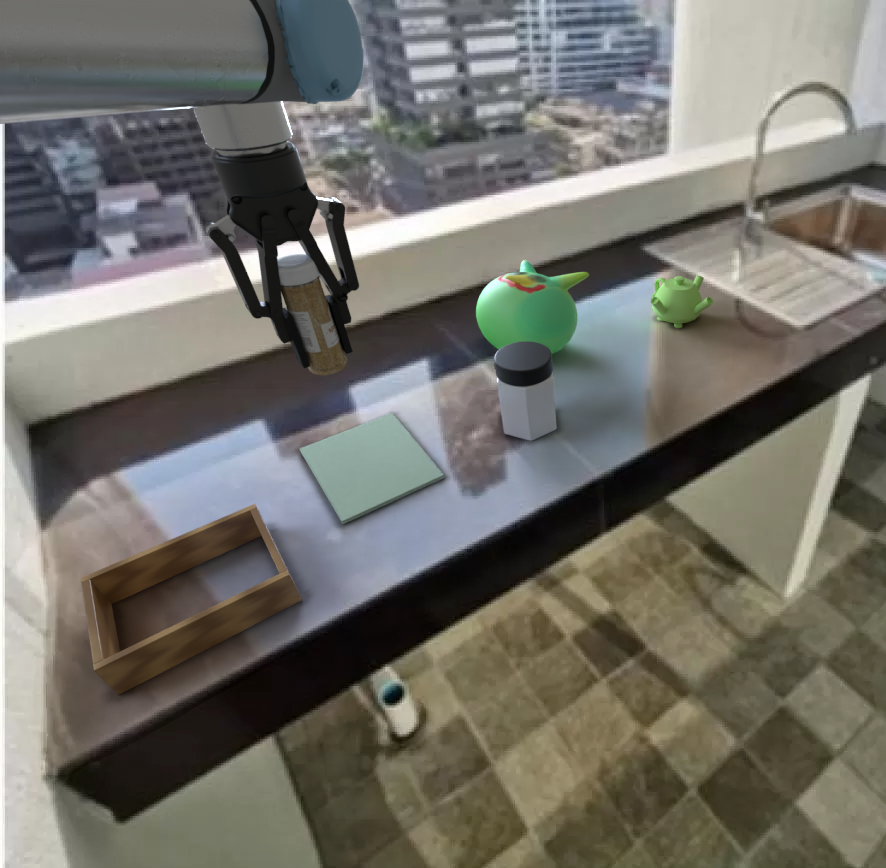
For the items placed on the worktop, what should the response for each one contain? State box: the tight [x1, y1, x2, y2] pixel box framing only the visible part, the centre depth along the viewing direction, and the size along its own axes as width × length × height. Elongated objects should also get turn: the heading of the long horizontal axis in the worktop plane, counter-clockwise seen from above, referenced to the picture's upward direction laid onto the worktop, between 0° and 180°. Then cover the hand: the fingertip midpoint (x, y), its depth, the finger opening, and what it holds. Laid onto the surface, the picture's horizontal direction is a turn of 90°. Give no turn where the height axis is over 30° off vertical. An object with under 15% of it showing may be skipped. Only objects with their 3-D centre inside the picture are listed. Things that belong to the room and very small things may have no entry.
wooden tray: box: [80, 503, 303, 696], centre depth 66 cm, size 18×14×4 cm
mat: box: [299, 412, 445, 525], centre depth 85 cm, size 18×14×1 cm
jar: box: [493, 341, 558, 442], centre depth 88 cm, size 9×8×12 cm
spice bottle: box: [277, 253, 348, 376], centre depth 69 cm, size 5×5×14 cm
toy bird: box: [475, 259, 590, 355], centre depth 104 cm, size 18×17×15 cm
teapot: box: [650, 274, 714, 329], centre depth 115 cm, size 11×12×8 cm
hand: (324, 355), depth 72 cm, fingers closed on spice bottle, 4 cm apart
